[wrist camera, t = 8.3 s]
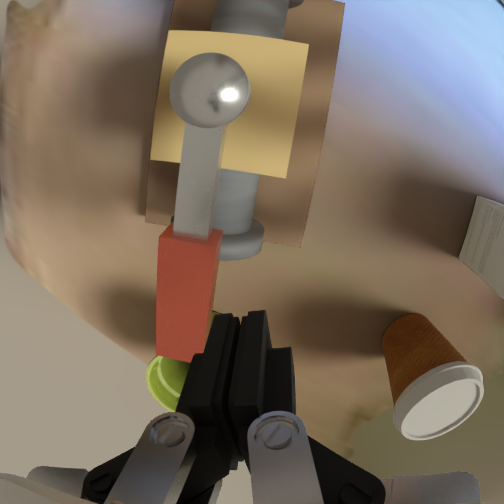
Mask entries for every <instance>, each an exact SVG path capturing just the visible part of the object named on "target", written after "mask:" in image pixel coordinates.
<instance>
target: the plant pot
mask: <svg viewBox="0 0 504 504" xmlns="http://www.w3.org/2000/svg"><path fill="white" fill-rule="evenodd" d="M216 314H220V313H216V312H212V317H211V325H212V322H213V318H214V316H215V315H216ZM211 325H210V328H211ZM189 366H190V363H189V362H184V361H180V360H175V359H171V358H166V357H162V356H158V355H157V356H155V357H154V358H153V359H152V361H151V362H150V363H149V365H148V367H147V370H146V384H147V387H148V389H149V392H150V393H151V395H152V396H153V397H154V398H155V400H156V401H157V402H158V403H159V404H161V405H162V406H163V407H164V408H165V409H167V410H169V411H170V412H175V410H176V407H177V404H178V401H179V397H180V394H181V391H182V388H183V385H184V382H185V379H186V376H187V373H188V369H189Z"/></svg>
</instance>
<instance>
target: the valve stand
mask: <svg viewBox="0 0 504 504" xmlns="http://www.w3.org/2000/svg"><path fill="white" fill-rule="evenodd" d="M344 7H345V3H342V2H338V1H334V0H175V1H174V5H173V9H172V14H171V18H170V23H169V28H168V33H167V38H166V43H165V48H164V54H163V59H162V65H161V71H160V77H159V84H158V90H157V97H156V104H155V112H154V120H153V129H152V138H151V147H150V158H149V169H148V182H147V198H146V217H145V222H146V223H153V224H159V225H166V226H169V225H170V224H171V223H172V222H174V215H175V205H176V195H177V186H178V177H179V168H180V160H181V152H182V145H183V137H184V130H185V123H186V122H185V121H183V120H182V119H181V118H180V117H179V116H178V115H177V114H176V112H175V111H174V109H173V107H172V104H171V101H170V95H169V90H170V84H171V80H172V77H173V75H174V74H175V72H176V70H177V69H178V68H179V67H180V66H181V64H183V63H184V62H185V61H186V60H188V59H189V58H191V57H193V56H195V55H198V54H202V53H209V52H213V53H221V54H224V55H227V56H229V57H231V58H232V59H234V60H235V61H236V62H238V63H239V65H240V66H241V67H242V68H243V70H244V71H245V73H246V75H247V77H248V79H249V81H250V84H251V89H252V96H251V101H250V104H249V107H248V109H247V110H246V112H245V113H244V115H243V116H242V117H241V118H239V119H238V120H237V121H235V122H234V123H232V124H230V125H227V131H226V138H225V144H224V150H223V156H222V163H221V170H220V176H219V183H218V190H217V197H216V204H215V211H214V218H213V226H212V228H213V229H219V230H223V236H222V243H221V250H220V257H219V260H222V261H232V260H242V259H247V258H250V257H253V256H255V255H256V254H258V253H259V252H260V250H261V247H262V242H263V241H265V242H271V243H276V244H282V245H288V246H294V247H300V248H301V244H302V240H303V235H304V231H305V226H306V222H307V217H308V212H309V208H310V203H311V198H312V194H313V189H314V184H315V179H316V174H317V169H318V164H319V159H320V154H321V148H322V143H323V138H324V133H325V127H326V122H327V116H328V111H329V105H330V99H331V93H332V87H333V81H334V75H335V69H336V63H337V56H338V50H339V43H340V36H341V29H342V22H343V15H344Z"/></svg>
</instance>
